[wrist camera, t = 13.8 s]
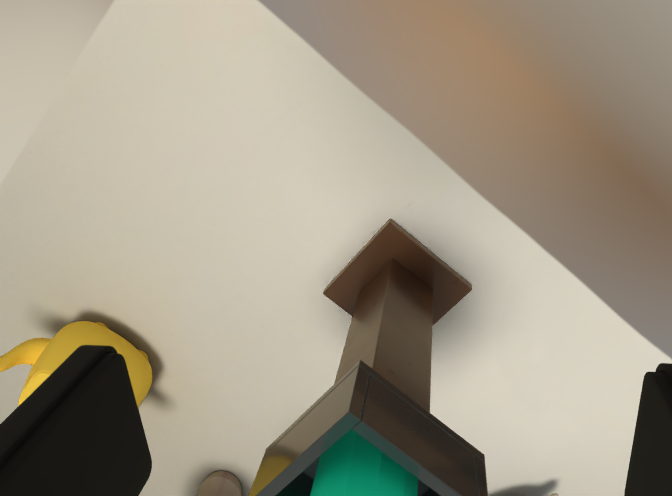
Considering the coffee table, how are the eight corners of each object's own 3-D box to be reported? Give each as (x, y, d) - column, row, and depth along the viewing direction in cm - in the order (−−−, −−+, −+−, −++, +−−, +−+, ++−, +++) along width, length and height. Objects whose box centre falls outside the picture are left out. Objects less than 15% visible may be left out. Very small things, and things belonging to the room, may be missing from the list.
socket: (266, 448, 37) (244, 506, 33) (360, 358, 33) (348, 411, 29) (380, 531, 38) (373, 596, 34) (484, 454, 34) (490, 518, 30)
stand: (324, 288, 57) (261, 448, 37) (390, 218, 53) (359, 354, 33) (401, 349, 58) (381, 534, 38) (471, 284, 54) (489, 454, 34)
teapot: (18, 338, 66) (-55, 398, 56) (56, 274, 61) (-16, 326, 52) (148, 427, 68) (100, 499, 59) (194, 371, 64) (150, 439, 54)
